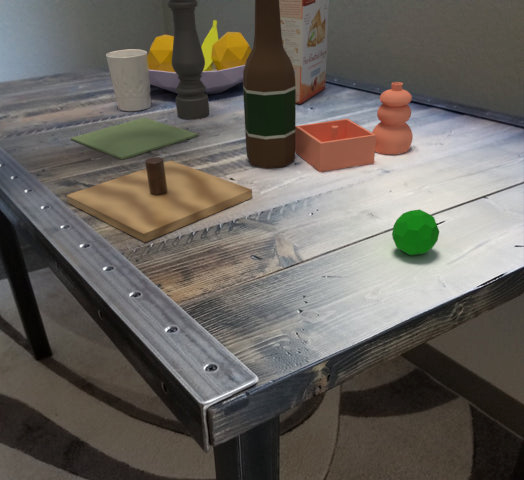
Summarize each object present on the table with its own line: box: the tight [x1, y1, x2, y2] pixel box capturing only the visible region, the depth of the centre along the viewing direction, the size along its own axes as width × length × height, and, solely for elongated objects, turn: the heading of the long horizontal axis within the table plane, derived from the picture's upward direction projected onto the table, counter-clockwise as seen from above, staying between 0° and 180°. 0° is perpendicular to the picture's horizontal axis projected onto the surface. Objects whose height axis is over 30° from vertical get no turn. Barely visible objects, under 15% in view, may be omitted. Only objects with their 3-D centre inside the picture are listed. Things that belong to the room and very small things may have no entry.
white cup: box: [105, 48, 152, 112], centre depth 116 cm, size 8×8×10 cm
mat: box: [70, 117, 199, 161], centre depth 102 cm, size 16×16×1 cm
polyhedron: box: [391, 208, 440, 257], centre depth 64 cm, size 5×5×5 cm
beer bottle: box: [242, 0, 297, 170], centre depth 84 cm, size 8×8×24 cm
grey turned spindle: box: [167, 0, 210, 120], centre depth 105 cm, size 6×6×25 cm
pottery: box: [295, 81, 414, 173], centre depth 89 cm, size 18×10×10 cm, turn 110°
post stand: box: [65, 156, 253, 243], centre depth 78 cm, size 18×18×6 cm
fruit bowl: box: [147, 19, 252, 95], centre depth 128 cm, size 28×27×11 cm
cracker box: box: [279, 0, 330, 105], centre depth 116 cm, size 14×6×21 cm, turn 154°
